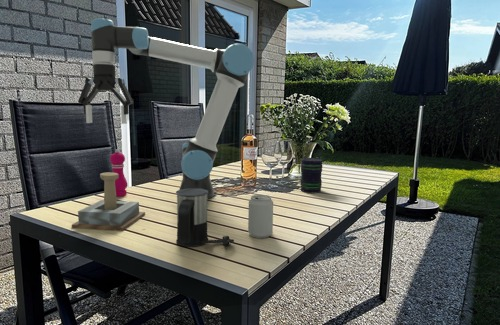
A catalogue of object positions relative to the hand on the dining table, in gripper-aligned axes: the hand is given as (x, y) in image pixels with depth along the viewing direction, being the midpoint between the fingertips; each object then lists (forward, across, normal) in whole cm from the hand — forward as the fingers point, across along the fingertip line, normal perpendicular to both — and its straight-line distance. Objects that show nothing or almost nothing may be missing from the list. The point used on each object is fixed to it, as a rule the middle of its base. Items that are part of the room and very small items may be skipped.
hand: (106, 123), depth 134 cm
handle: (+31, -9, +17) cm, 36 cm away
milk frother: (+32, -45, +32) cm, 64 cm away
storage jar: (+32, -78, -41) cm, 94 cm away
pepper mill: (+32, +5, -17) cm, 36 cm away
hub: (+32, -9, +17) cm, 37 cm away
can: (+32, -60, +22) cm, 71 cm away
